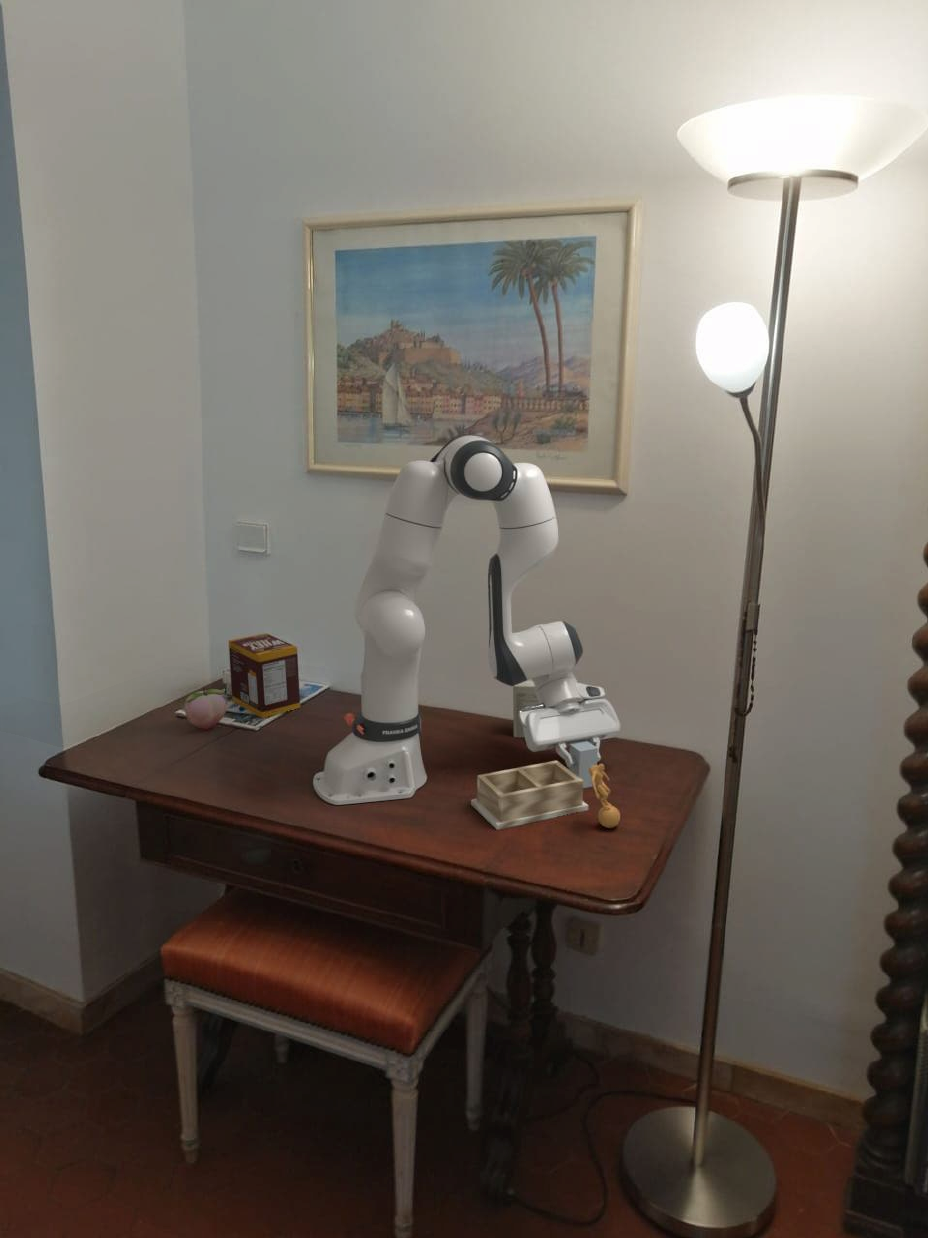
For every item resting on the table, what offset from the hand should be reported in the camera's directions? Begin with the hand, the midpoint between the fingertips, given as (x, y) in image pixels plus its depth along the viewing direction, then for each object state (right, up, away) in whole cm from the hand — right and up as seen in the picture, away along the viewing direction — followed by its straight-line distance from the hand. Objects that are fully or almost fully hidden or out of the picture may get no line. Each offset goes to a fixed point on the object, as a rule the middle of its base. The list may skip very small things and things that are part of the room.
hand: (584, 763), depth 191 cm
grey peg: (0, -4, +2) cm, 5 cm away
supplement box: (-72, +7, +44) cm, 84 cm away
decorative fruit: (-82, +3, +28) cm, 87 cm away
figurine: (+1, -9, -15) cm, 18 cm away
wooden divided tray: (-11, -7, -8) cm, 16 cm away
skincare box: (-10, +2, +26) cm, 28 cm away
